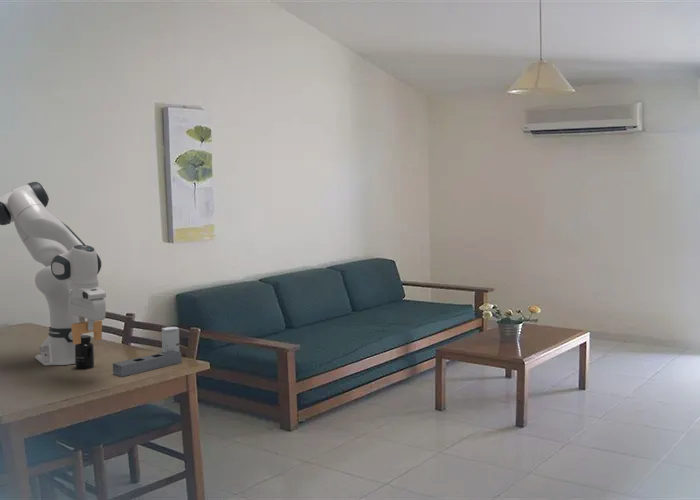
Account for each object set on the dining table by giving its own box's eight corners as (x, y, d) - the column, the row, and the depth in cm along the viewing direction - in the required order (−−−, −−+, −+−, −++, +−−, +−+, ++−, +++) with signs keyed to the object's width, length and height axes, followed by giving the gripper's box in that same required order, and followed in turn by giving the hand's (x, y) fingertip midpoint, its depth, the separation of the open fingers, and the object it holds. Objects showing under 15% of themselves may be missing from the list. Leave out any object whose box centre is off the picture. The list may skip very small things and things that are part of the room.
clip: (72, 343, 253) (71, 323, 252) (98, 338, 260) (97, 319, 259) (76, 344, 251) (75, 325, 250) (102, 339, 258) (101, 320, 257)
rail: (113, 373, 265) (112, 363, 264) (172, 360, 284) (172, 350, 284) (121, 376, 261) (121, 366, 260) (181, 362, 280) (181, 352, 280)
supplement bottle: (76, 370, 270) (75, 339, 269) (74, 366, 276) (73, 335, 275) (95, 368, 273) (94, 337, 272) (93, 363, 279) (91, 333, 278)
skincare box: (165, 359, 285) (164, 329, 283) (161, 357, 288) (160, 328, 287) (180, 357, 288) (179, 328, 287) (176, 355, 292) (175, 326, 290)
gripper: (62, 288, 258) (64, 326, 259) (91, 295, 244) (92, 335, 246) (79, 286, 262) (80, 323, 264) (108, 293, 249) (109, 332, 251)
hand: (86, 329), depth 255 cm, fingers closed on clip, 3 cm apart
